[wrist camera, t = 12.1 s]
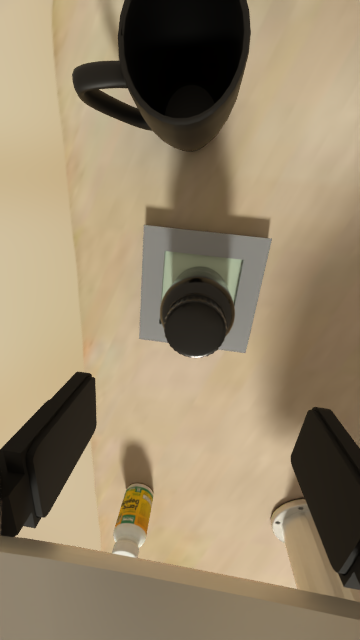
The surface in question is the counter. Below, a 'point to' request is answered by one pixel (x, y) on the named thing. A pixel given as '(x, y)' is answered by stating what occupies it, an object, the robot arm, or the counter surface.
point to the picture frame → (207, 251)
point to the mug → (173, 68)
